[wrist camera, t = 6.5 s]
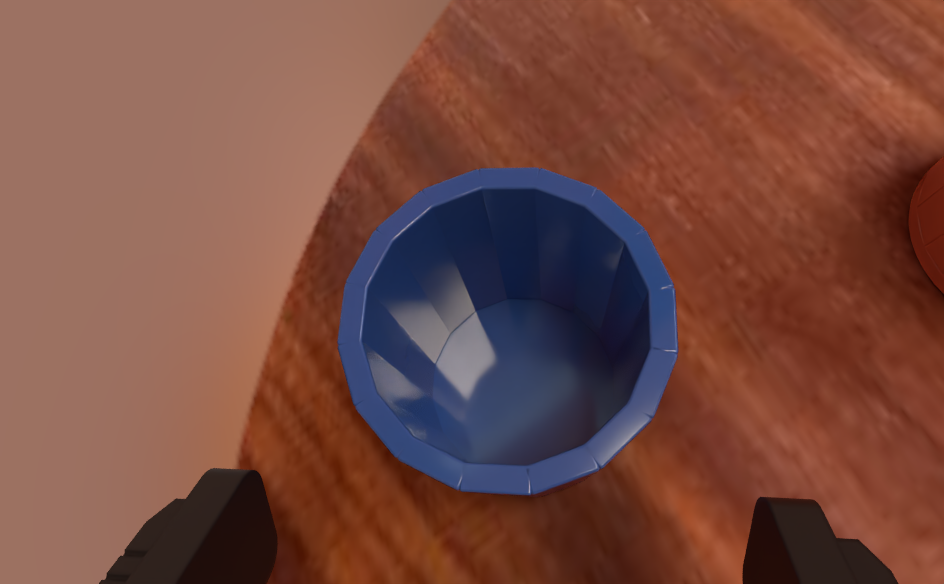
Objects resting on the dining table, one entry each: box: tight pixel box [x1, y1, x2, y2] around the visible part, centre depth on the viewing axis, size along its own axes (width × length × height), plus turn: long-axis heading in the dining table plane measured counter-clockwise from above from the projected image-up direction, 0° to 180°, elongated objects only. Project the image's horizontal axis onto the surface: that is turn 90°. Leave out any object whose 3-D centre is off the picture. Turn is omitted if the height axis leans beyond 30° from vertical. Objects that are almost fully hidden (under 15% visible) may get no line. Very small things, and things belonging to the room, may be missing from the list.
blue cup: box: [337, 168, 678, 497], centre depth 15 cm, size 6×6×8 cm
